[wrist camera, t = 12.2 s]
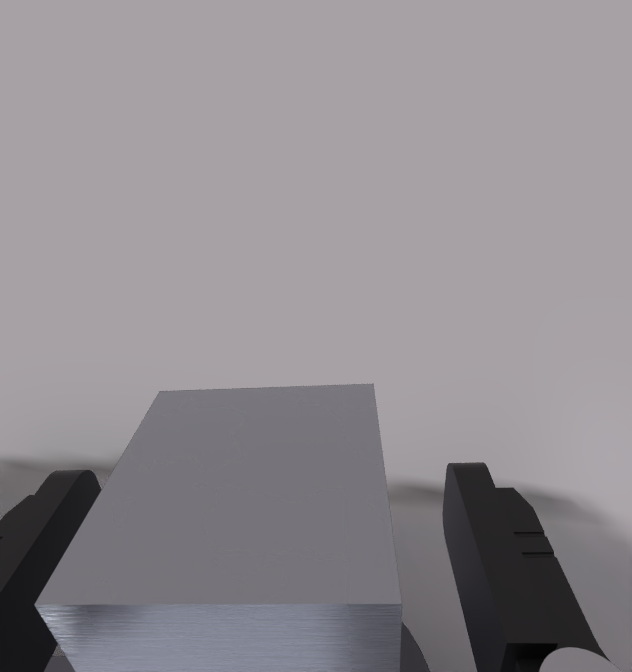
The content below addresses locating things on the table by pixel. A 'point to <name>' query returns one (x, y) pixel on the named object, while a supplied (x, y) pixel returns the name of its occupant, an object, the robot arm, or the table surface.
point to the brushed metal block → (237, 541)
